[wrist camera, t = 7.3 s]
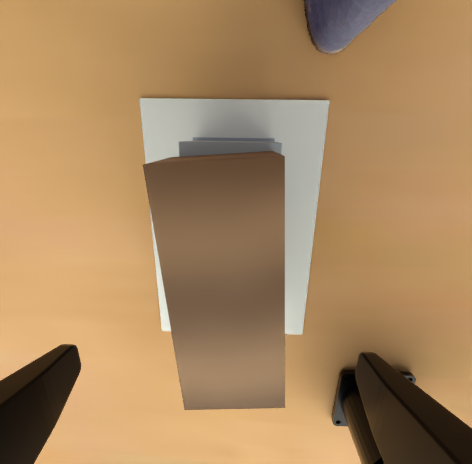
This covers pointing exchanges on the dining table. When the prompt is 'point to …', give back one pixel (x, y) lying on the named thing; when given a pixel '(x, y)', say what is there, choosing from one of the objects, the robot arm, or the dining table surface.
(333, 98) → the dining table surface
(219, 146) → the tilted pale grey prism
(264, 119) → the white flat rectangular plate
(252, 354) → the lintel
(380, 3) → the flask
